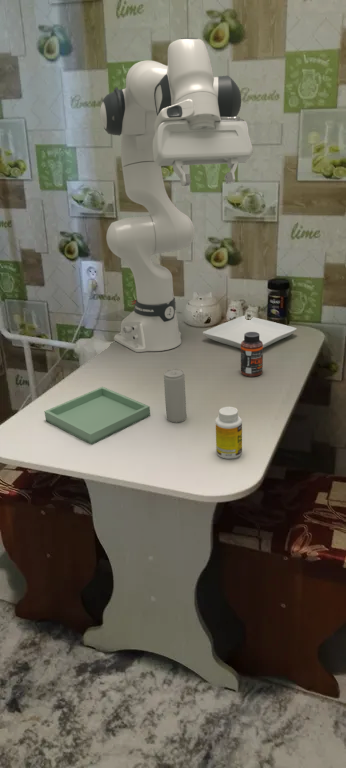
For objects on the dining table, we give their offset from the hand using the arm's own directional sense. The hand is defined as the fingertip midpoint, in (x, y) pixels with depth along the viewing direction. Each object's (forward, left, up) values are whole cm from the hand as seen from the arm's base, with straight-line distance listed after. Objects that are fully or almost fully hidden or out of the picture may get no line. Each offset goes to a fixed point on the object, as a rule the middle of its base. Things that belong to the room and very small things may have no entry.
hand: (208, 183), depth 129 cm
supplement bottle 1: (+11, -8, -54) cm, 56 cm away
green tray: (-24, -16, -54) cm, 61 cm away
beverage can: (-9, -4, -54) cm, 55 cm away
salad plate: (-29, +48, -55) cm, 78 cm away
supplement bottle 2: (-12, +28, -54) cm, 62 cm away
